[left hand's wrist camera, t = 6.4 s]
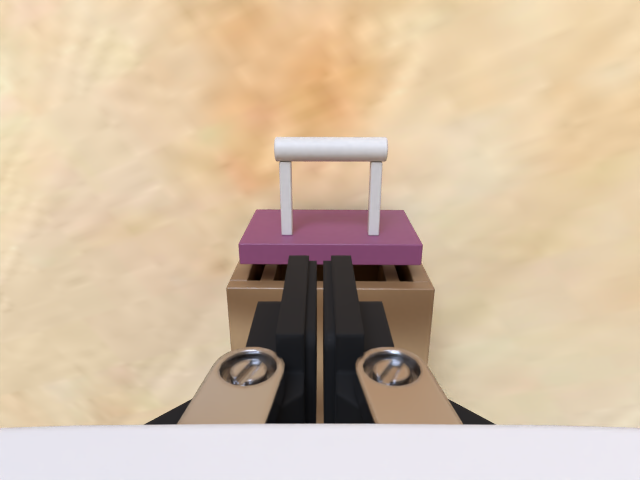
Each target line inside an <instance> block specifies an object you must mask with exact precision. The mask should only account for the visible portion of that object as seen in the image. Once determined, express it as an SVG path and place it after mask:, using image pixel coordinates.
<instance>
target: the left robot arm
mask: <svg viewBox="0 0 640 480" xmlns="http://www.w3.org/2000/svg"><path fill="white" fill-rule="evenodd" d="M316 409H317V261H309V255H289V258H288V264H287V270H286V276H285V282H284V287H283V293H282V299H281V301H258V303H257V306H256V310H255V314H254V317H253V321H252V325H251V328H250V332H249V336H248V339H247V343H246V347H245V348H240V349H236V350H233V351H230V352H228V353H226V354H224V355H223V356H221V357H220V358H219V359H218V360H217V361H216V362H215V363H214V364H213V366H212V368H211V369H210V371H209V373H208V374H207V376H206V377H205V379H204V381H203V382H202V384H201V386H200V387H199V389H198V390H197V392H196V394H195V395H194V397H193V399H191V400H189V401H187V402H186V403H184V404H182V405H180V406H178V407H176V408H174V409H172V410H171V411H169V412H167V413H165V414H163V415H161V416H159V417H157V418H156V419H154V420H152V421H150V422H148V423H146V424H144V425H89V426H49V427H19V428H0V480H640V428H625V427H589V426H554V425H496V424H494V423H492V422H490V421H488V420H486V419H484V418H483V417H481V416H479V415H477V414H475V413H473V412H471V411H469V410H468V409H466V408H464V407H462V406H460V405H458V404H456V403H454V402H453V401H451V400H449V399H447V397H446V395H445V394H444V392H443V390H442V389H441V387H440V386H439V384H438V382H437V381H436V379H435V377H434V376H433V374H432V373H431V371H430V369H429V368H428V366H427V364H426V363H425V362H424V361H423V360H422V359H421V358H420V357H419V356H417V355H416V354H414V353H412V352H410V351H407V350H404V349H400V348H395V347H394V343H393V340H392V336H391V332H390V328H389V325H388V321H387V317H386V314H385V310H384V306H383V303H382V301H359V299H358V293H357V287H356V282H355V276H354V270H353V264H352V258H351V255H331V261H323V409H324V424H316Z"/></svg>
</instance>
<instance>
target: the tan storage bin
mask: <svg viewBox="0 0 640 480" xmlns="http://www.w3.org/2000/svg"><path fill="white" fill-rule="evenodd" d="M394 266H395V269H396V272H397V275H398V278H399V281H400V282H392V281H355V282H356V287H357V293H358V299H359V301H382V303H383V306H384V310H385V314H386V317H387V321H388V325H389V328H390V332H391V336H392V340H393V343H394V347H395V348H400V349H404V350H407V351H410V352H412V353H414V354H416V355H417V356H419V357H420V358H421V359H422V360H423V361H424V362H425V363H426V364H427V363H428V352H429V342H430V332H431V322H432V312H433V301H434V291H435V289H434V287H433V285H432V283H431V282H430V279H429V277H428V275H427V273H426V271H425V269H424V267H423V265H422V263H421V265H394ZM264 267H265V264H240V260H239V262H238V264H237V266H236V268H235V271H234V273H233V275H232V277H231V279H230V282H229V284H228V286H227V288H226V290H227V302H228V315H229V327H230V340H231V351H233V350H236V349H240V348H245V347H246V343H247V339H248V336H249V332H250V328H251V325H252V321H253V317H254V314H255V310H256V306H257V303H258V301H281V299H282V293H283V287H284V282H285V281H260V280H261V277H262V274H263V270H264ZM316 424H324V409H323V281H317V409H316Z"/></svg>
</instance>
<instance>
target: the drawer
mask: <svg viewBox="0 0 640 480" xmlns="http://www.w3.org/2000/svg"><path fill="white" fill-rule="evenodd" d="M274 153H275V160H276V161H280V163H279V169H280V200H281V210H256V211H255V213H254V215H253V217H252V219H251V221H250V223H249V225H248V227H247V229H246V231H245V233H244V235H243V237H242V238H241V240H240V242H239V258H240V264H265V267H264V270H263V274H262V277H261V280H260V281H285V276H286V270H287V264H288V258H289V255H309V261H317V281H323V261H331V255H351V258H352V264H353V270H354V276H355V281H392V282H400V281H399V278H398V275H397V272H396V269H395V266H394V265H421V259H422V247H423V245H422V243H421V241H420V239H419V237H418V236H417V234H416V232H415V230H414V228H413V227H412V225H411V223H410V221H409V219H408V218H407V216H406V214H405V212H404V210H380V204H381V183H382V162H385V161H386V160H387V154H388V141H387V138H386V137H276V138H275V143H274ZM291 161H370V179H369V205H368V210H292V165H291ZM381 161H382V162H381Z"/></svg>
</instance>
